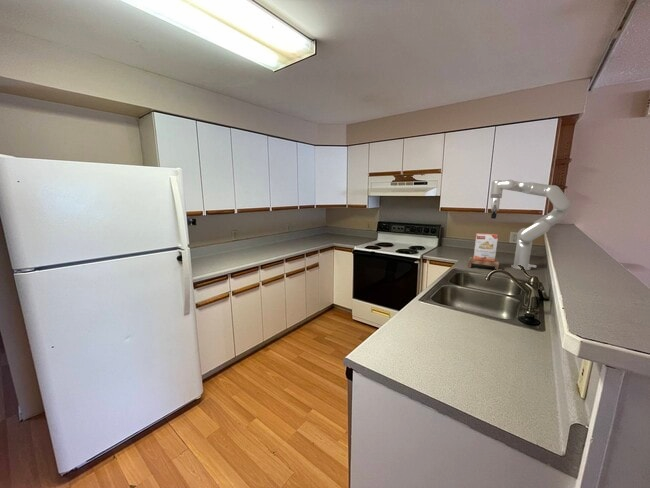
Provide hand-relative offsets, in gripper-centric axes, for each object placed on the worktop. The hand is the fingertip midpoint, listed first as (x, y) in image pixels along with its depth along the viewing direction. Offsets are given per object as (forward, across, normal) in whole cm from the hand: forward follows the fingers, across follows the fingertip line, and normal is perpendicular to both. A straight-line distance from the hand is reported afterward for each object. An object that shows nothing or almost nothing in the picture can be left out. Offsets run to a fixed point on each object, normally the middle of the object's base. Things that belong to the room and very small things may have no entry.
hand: (493, 218), depth 213 cm
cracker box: (+32, -15, +3) cm, 36 cm away
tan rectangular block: (+38, -15, +3) cm, 41 cm away
